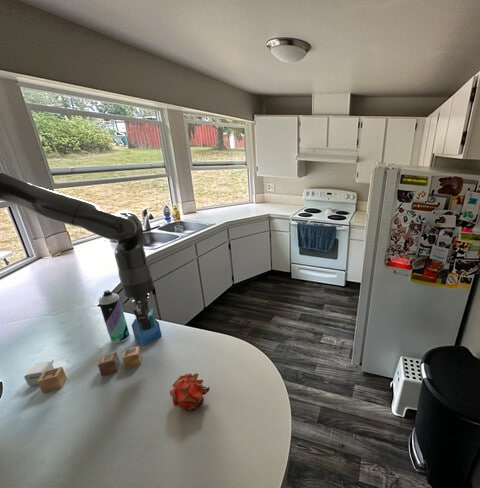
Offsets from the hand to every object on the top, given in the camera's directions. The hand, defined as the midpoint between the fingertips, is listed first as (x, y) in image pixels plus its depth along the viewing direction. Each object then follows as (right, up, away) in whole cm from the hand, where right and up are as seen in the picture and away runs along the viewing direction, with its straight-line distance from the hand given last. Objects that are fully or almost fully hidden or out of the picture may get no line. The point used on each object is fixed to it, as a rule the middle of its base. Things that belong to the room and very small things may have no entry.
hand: (147, 325), depth 81 cm
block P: (-6, -13, +2) cm, 14 cm away
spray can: (-19, -9, +12) cm, 24 cm away
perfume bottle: (-9, -9, +13) cm, 18 cm away
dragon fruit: (+20, -19, -11) cm, 29 cm away
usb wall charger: (-29, -14, -4) cm, 33 cm away
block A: (-22, -16, -7) cm, 28 cm away
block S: (0, 0, 0) cm, 0 cm away
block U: (-11, -14, -1) cm, 18 cm away
